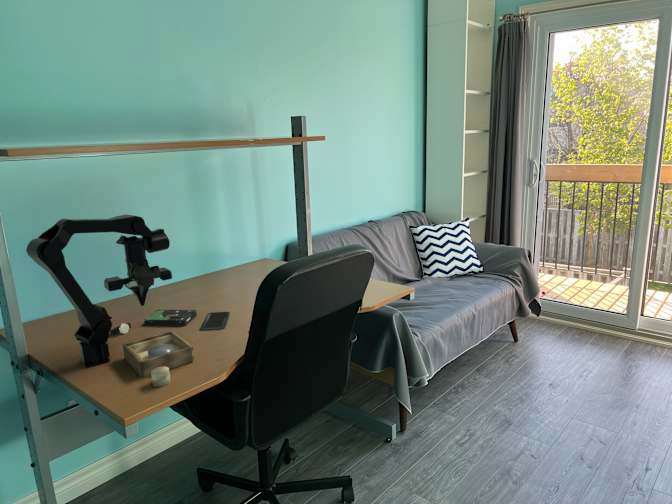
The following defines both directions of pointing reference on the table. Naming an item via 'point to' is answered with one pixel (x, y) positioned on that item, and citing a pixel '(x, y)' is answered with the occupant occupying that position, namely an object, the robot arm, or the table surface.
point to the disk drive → (170, 318)
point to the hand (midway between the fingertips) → (142, 305)
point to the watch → (121, 329)
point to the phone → (215, 321)
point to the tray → (171, 339)
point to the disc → (160, 350)
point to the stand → (160, 376)
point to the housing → (156, 358)
